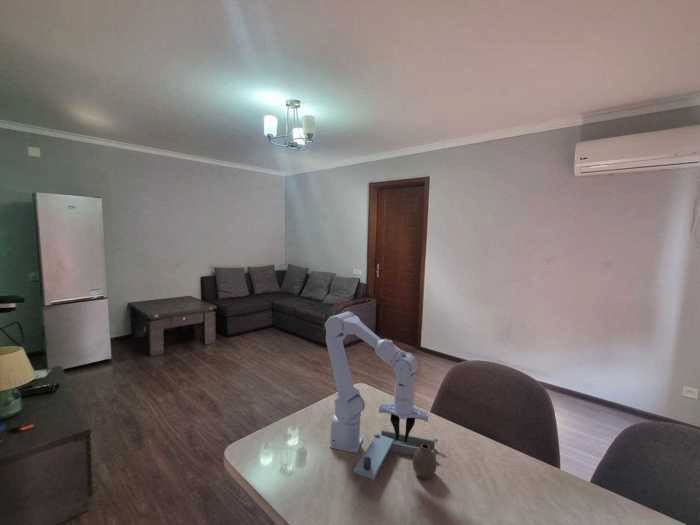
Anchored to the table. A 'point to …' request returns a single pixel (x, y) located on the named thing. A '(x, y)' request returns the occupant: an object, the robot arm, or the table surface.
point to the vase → (424, 462)
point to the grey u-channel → (408, 443)
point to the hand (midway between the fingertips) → (401, 438)
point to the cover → (374, 456)
